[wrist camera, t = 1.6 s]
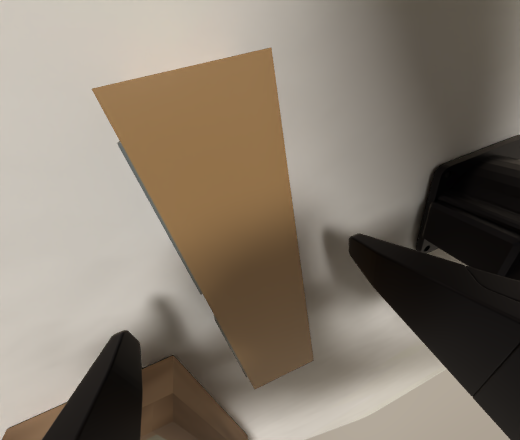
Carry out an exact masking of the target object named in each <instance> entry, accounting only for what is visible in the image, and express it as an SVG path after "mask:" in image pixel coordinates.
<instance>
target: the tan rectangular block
mask: <svg viewBox="0 0 520 440" xmlns="http://www.w3.org/2000/svg"><path fill="white" fill-rule="evenodd" d="M92 90H93V92H94V94H95V96H96V98H97V100H98V102H99V103H100V105H101V107H102V109H103V111H104V113H105V114H106V116H107V118H108V120H109V122H110V124H111V125H112V127H113V129H114V131H115V133H116V135H117V137H118V138H119V140H120V141H119V142H118V143H117V144H118V146H119V148H120V149H121V151H122V153H123V155H124V157H125V158H126V160H127V162H128V164H129V166H130V167H131V169H132V171H133V173H134V175H135V177H136V178H137V180H138V182H139V184H140V186H141V187H142V189H143V191H144V193H145V195H146V196H147V198H148V200H149V202H150V204H151V205H152V207H153V209H154V211H155V213H156V215H157V216H158V218H159V220H160V222H161V224H162V225H163V227H164V229H165V231H166V233H167V234H168V236H169V238H170V240H171V242H172V243H173V245H174V247H175V249H176V251H177V253H178V254H179V256H180V258H181V260H182V262H183V263H184V265H185V267H186V269H187V271H188V272H189V274H190V276H191V278H192V280H193V281H194V283H195V285H196V287H197V289H198V291H199V292H200V294H203V295H204V297H205V299H206V301H207V302H208V304H209V306H210V308H211V310H212V312H213V313H214V317H215V321H216V323H217V325H218V327H219V328H220V330H221V332H222V334H223V336H224V338H225V339H226V341H227V343H228V345H229V347H230V348H231V350H232V352H233V354H234V356H235V357H236V359H237V361H238V363H239V365H240V366H241V368H242V370H243V372H244V374H245V376H246V377H247V376H248V378H249V380H250V382H251V383H252V385H253V387H254V389H256V388H259V387H261V386H263V385H265V384H267V383H269V382H271V381H273V380H275V379H277V378H279V377H281V376H283V375H285V374H287V373H289V372H291V371H293V370H295V369H297V368H299V367H301V366H303V365H305V364H307V363H309V362H311V361H313V352H312V345H311V338H310V330H309V323H308V315H307V308H306V301H305V293H304V286H303V278H302V271H301V264H300V256H299V249H298V241H297V234H296V227H295V219H294V212H293V204H292V197H291V190H290V182H289V175H288V168H287V160H286V153H285V145H284V138H283V131H282V123H281V116H280V108H279V101H278V94H277V86H276V79H275V71H274V64H273V57H272V49H271V48H267V49H263V50H259V51H254V52H250V53H245V54H241V55H237V56H232V57H228V58H224V59H219V60H215V61H211V62H206V63H202V64H198V65H193V66H189V67H185V68H180V69H176V70H171V71H167V72H163V73H158V74H154V75H150V76H145V77H141V78H137V79H132V80H128V81H124V82H119V83H115V84H110V85H106V86H102V87H97V88H93V89H92Z"/></svg>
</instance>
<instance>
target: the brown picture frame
mask: <svg viewBox="0 0 520 440" xmlns="http://www.w3.org/2000/svg"><path fill="white" fill-rule="evenodd" d="M142 385H143V398H142V418H141V436H140V440H248V437H247V435H246V434H245V432H244V431H243V430H242V429H241V428H240V427H239V426H238V425H237V424H236V423H235V422H234V421H233V419H232V418H231V417H230V416H229V415H228V414H227V413H226V412H225V411H224V410H223V409H222V408H221V407H220V405H219V404H218V403H217V402H216V401H215V400H214V399H213V398H212V397H211V396H210V395H209V394H208V392H207V391H206V390H205V389H204V388H203V387H202V386H201V385H200V384H199V383H198V382H197V381H196V379H195V378H194V377H193V376H192V375H191V374H190V373H189V372H188V371H187V370H186V369H185V368H184V367H183V365H182V364H181V363H180V362H179V361H178V360H177V359H176V358H175V357H174V356H171V357H168V358H166V359H164V360H162V361H159V362H157V363H155V364H153V365H150V366H148V367H146V368H144V369H142ZM65 405H66V403H65V404H63V405H60V406H58V407H56V408H54V409H51V410H49V411H47V412H45V413H42V414H40V415H38V416H36V417H33V418H31V419H29V420H27V421H24V422H22V423H20V424H18V425H15V426H13V427H11V428H9V429H7V430H6V432H5V434H4V436H3V439H2V440H42V438H43V437H44V435H45V434H46V433H47V431H48V430H49V428H50V427H51V425H52V424H53V422H54V421H55V419H56V418H57V416H58V415H59V413H60V412H61V410H62V409H63V408H64V406H65Z"/></svg>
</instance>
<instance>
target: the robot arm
mask: <svg viewBox="0 0 520 440" xmlns="http://www.w3.org/2000/svg"><path fill="white" fill-rule="evenodd" d="M437 248H440V249H441V250H443V251H445V252H446V253H448V254H450V255H451V256H453V257H455V258H456V259H458V260H459V261H461V262H463V263H464V264H466V265H468V266H466V267H465V266H464V265H462V264H459V263H455V262H452V261H449V260H445V259H442V258H439V257H436V256H432V255H429V254H426V253H428V252H431V251H433V250H435V249H437ZM416 250H417V251H416ZM416 250H413V249H409V248H406V247H403V246H399V245H396V244H393V243H390V242H386V241H383V240H380V239H376V238H373V237H370V236H367V235H363V234H355V235H353V236H351V237H350V238H349V254H350V256H351V257H352V259H353V260H354V262H355V263H356V264H357V266H358V267H359V268H360V270H361V271H362V273H363V274H364V275H365V277H366V278H367V279H368V281H369V282H370V283H371V285H372V286H373V287H374V288H375V289H376V291H377V292H378V293H379V294H380V295H381V296H382V297H383V298H384V300H385V301H386V302H387V303H388V304H389V305H390V306H391V307H392V308H393V310H394V311H395V312H396V313H397V314H398V315H399V316H400V317H401V318H402V319H403V321H404V322H405V323H406V324H407V325H408V326H409V327H410V328H411V329H412V331H413V332H414V333H415V334H416V335H417V336H418V337H419V338H420V339H421V341H422V342H423V343H424V344H425V345H426V346H427V347H428V348H429V349H430V351H431V352H432V353H433V354H434V355H435V356H436V357H437V358H438V359H439V361H440V362H441V363H442V364H443V365H444V366H445V367H446V368H447V369H448V371H449V372H450V373H451V374H452V375H453V376H454V377H455V378H456V379H457V380H458V382H459V383H460V384H461V385H462V386H463V387H464V388H465V389H466V390H467V392H468V393H469V394H470V395H471V396H473V399H474V400H475V401H476V402H477V403H478V404H479V405H480V406H481V407H482V408H483V410H485V412H486V413H487V414H488V415H489V416H490V417H491V418H492V420H493V421H494V422H495V423H496V424H497V425H498V426H499V427H500V428H501V430H503V432H504V433H505V434H506V435H507V436H508V437H509V438H510V440H520V135H517V136H515V137H512V138H509V139H507V140H504V141H502V142H499V143H496V144H494V145H491V146H489V147H486V148H483V149H481V150H478V151H476V152H473V153H470V154H468V155H465V156H463V157H460V158H458V159H455V160H452V161H450V162H447V163H445V164H442V165H441V166H439V167H438V168H437V170H436V171H435V173H434V176H433V180H432V184H431V188H430V192H429V196H428V200H427V204H426V208H425V213H424V217H423V221H422V225H421V229H420V233H419V237H418V241H417V245H416ZM142 398H143V385H142V366H141V348H140V343H139V341H138V340H137V339H136V338H135V337H134V336H133V335H132V334H131V333H130V332H129V331H127V330H124V331H121V332H119V333H116V334H114V335H113V336H112V337H111V338H110V340H109V341H108V343H107V344H106V346H105V347H104V349H103V350H102V352H101V353H100V355H99V356H98V358H97V359H96V360H95V362H94V363H93V365H92V366H91V368H90V369H89V371H88V372H87V374H86V375H85V377H84V378H83V380H82V381H81V383H80V384H79V385H78V387H77V388H76V390H75V391H74V393H73V394H72V396H71V397H70V399H69V400H68V402H67V403H66V405H65V406H64V408H63V409H62V410H61V412H60V413H59V415H58V416H57V418H56V419H55V421H54V422H53V424H52V425H51V427H50V428H49V430H48V431H47V433H46V434H45V435H44V437H43V438H42V440H140V436H141V418H142Z"/></svg>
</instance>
